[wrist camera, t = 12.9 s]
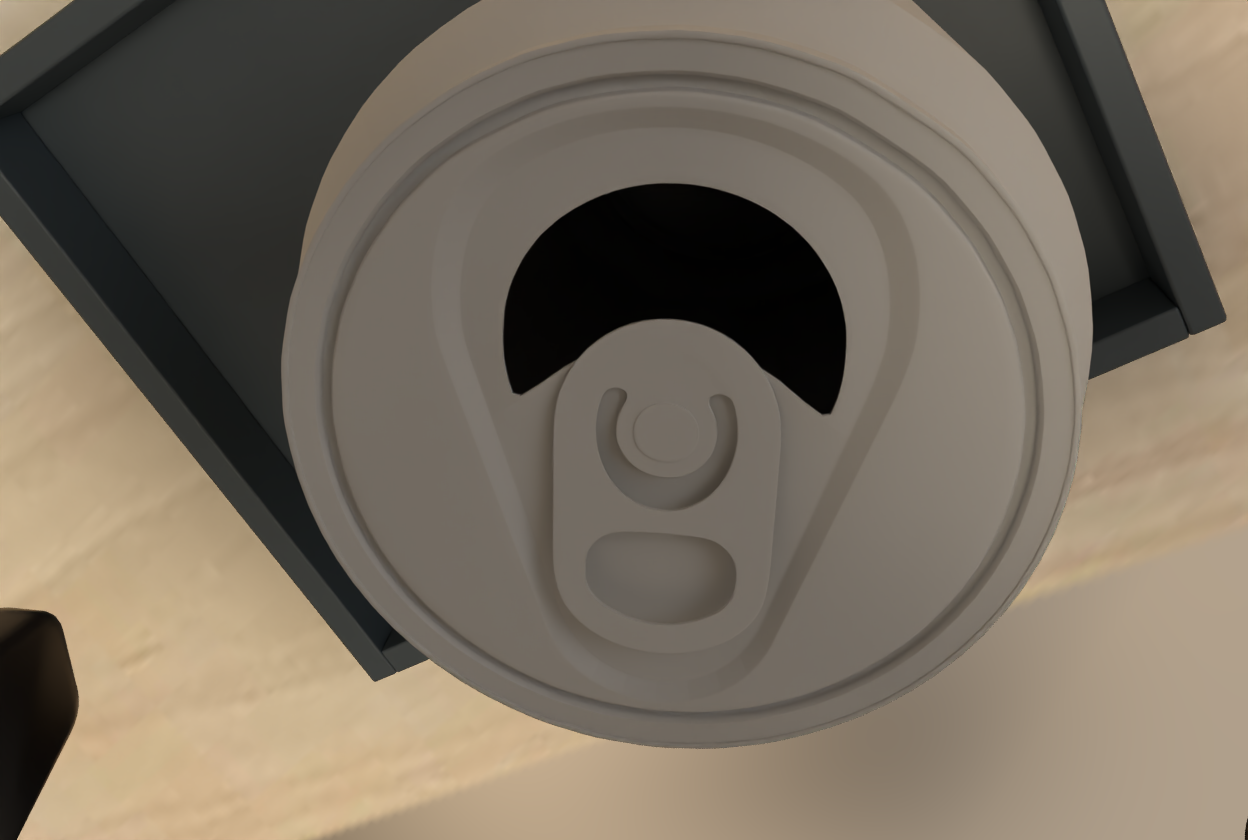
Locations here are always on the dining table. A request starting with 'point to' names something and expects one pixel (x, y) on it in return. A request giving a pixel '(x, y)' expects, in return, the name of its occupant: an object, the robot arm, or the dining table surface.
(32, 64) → the rectangular tray
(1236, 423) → the dining table surface
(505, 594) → the beverage can
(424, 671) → the dining table surface
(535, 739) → the dining table surface
